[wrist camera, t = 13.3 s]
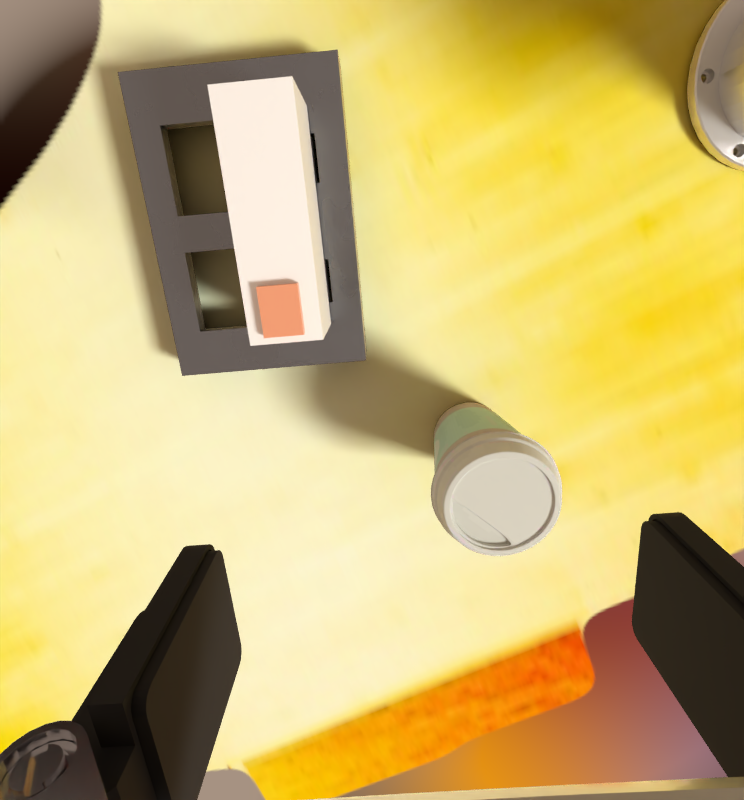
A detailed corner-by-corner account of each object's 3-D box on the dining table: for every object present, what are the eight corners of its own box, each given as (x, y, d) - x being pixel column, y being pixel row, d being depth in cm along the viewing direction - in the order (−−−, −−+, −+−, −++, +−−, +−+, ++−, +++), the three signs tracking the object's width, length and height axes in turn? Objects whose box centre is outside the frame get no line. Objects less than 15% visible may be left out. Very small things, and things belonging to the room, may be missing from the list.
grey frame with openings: (340, 66, 34) (337, 49, 31) (366, 351, 40) (366, 360, 37) (140, 86, 34) (117, 72, 31) (196, 365, 41) (182, 375, 37)
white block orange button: (313, 118, 35) (290, 72, 25) (334, 316, 39) (322, 341, 30) (250, 124, 35) (203, 81, 25) (278, 321, 39) (248, 347, 30)
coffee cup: (404, 405, 42) (416, 468, 30) (503, 372, 41) (554, 424, 29) (434, 491, 44) (456, 578, 33) (528, 462, 43) (584, 541, 32)
